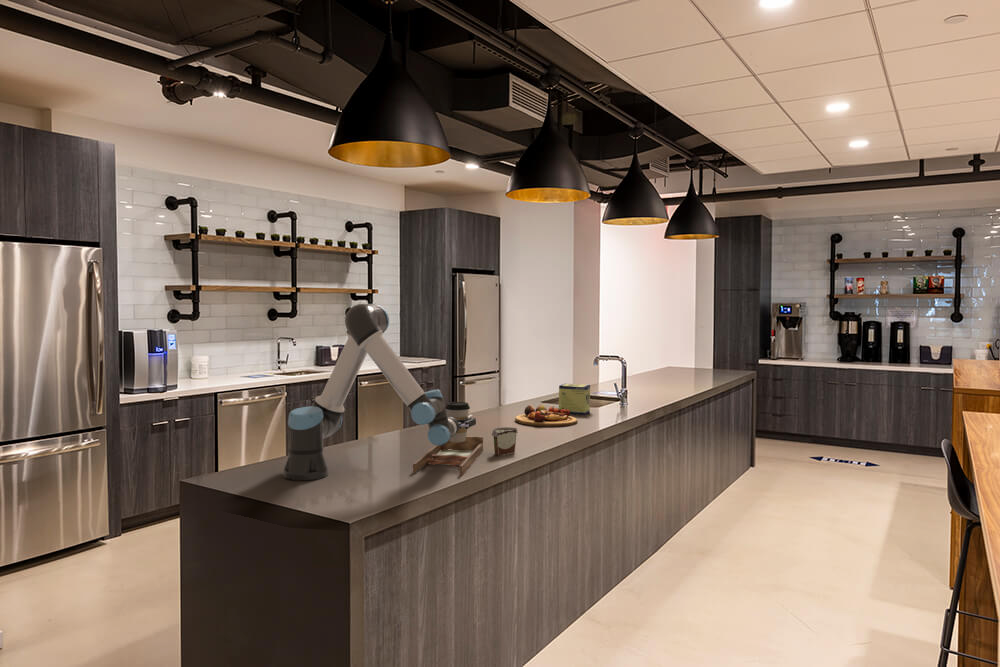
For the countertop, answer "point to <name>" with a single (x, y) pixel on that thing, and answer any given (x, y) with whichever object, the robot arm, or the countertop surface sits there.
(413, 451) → the countertop surface
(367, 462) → the countertop surface
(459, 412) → the coffee cup
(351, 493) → the countertop surface
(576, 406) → the protein box
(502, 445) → the food container
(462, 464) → the wooden frame with crossbars
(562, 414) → the wooden plate with food
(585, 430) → the countertop surface
